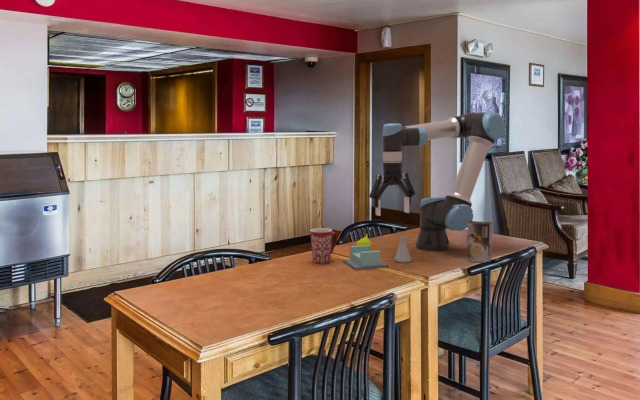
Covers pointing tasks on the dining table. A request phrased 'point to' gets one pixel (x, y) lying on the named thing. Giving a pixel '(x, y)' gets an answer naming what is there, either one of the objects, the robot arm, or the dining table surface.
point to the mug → (322, 245)
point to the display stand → (364, 258)
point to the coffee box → (479, 241)
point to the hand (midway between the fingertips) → (392, 214)
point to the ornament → (364, 242)
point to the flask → (403, 251)
